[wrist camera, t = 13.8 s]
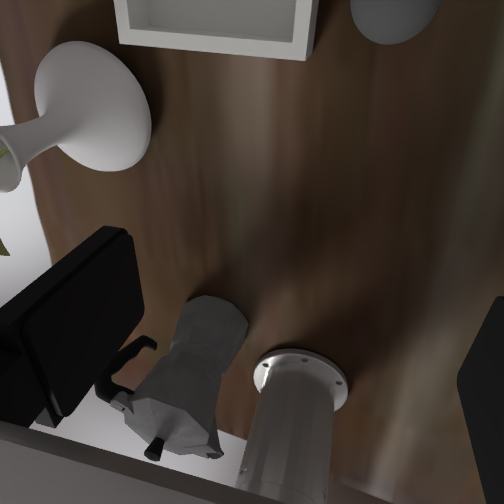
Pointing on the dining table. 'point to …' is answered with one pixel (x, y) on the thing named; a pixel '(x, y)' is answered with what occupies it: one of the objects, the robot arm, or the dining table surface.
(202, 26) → the tray
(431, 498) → the dining table surface
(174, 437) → the coffeepot
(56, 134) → the flower in vase
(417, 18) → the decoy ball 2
